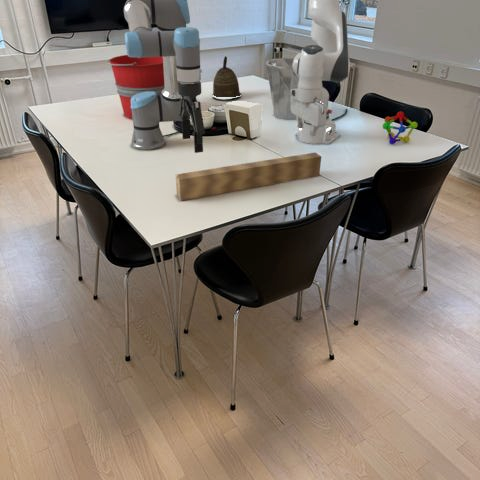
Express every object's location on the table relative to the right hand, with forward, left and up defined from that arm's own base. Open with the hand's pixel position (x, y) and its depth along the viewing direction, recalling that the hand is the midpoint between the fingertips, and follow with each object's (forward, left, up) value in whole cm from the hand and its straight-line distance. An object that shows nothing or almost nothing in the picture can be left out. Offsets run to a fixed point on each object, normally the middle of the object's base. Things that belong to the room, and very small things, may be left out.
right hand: (306, 131), depth 168 cm
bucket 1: (-10, -116, -18) cm, 117 cm away
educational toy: (-62, +10, -18) cm, 65 cm away
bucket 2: (-64, -55, -18) cm, 86 cm away
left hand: (+41, -18, +1) cm, 45 cm away
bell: (-67, -108, -18) cm, 128 cm away
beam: (+21, -9, -18) cm, 29 cm away
